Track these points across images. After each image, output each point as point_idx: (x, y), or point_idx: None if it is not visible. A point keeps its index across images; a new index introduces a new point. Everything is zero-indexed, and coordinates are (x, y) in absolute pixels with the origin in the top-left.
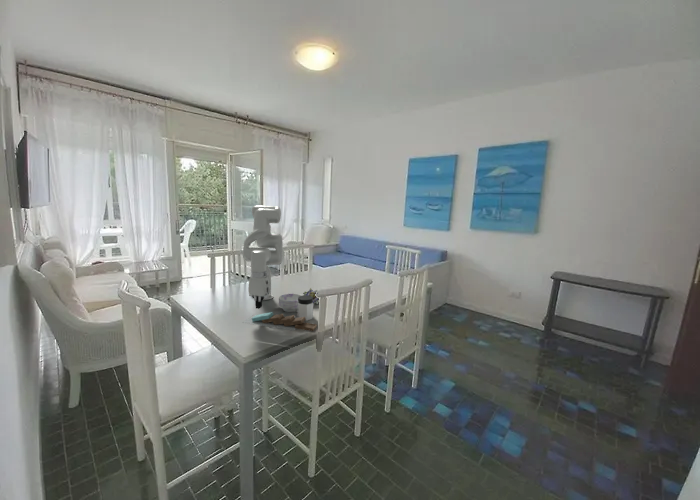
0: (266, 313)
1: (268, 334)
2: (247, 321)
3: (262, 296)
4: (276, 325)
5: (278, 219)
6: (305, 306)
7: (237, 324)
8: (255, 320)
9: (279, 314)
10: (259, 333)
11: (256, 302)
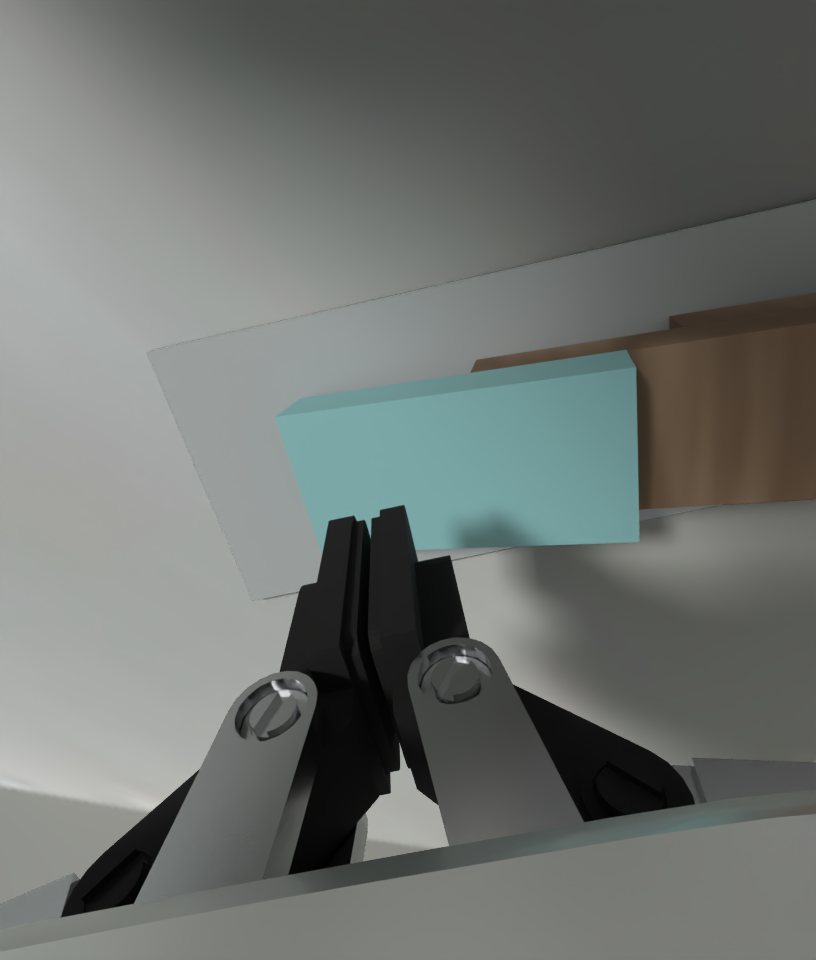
0: (498, 416)
1: (707, 635)
2: (281, 553)
3: (538, 825)
4: None
5: None
6: None
7: (240, 641)
8: None
9: (787, 345)
10: (608, 662)
11: (385, 762)
